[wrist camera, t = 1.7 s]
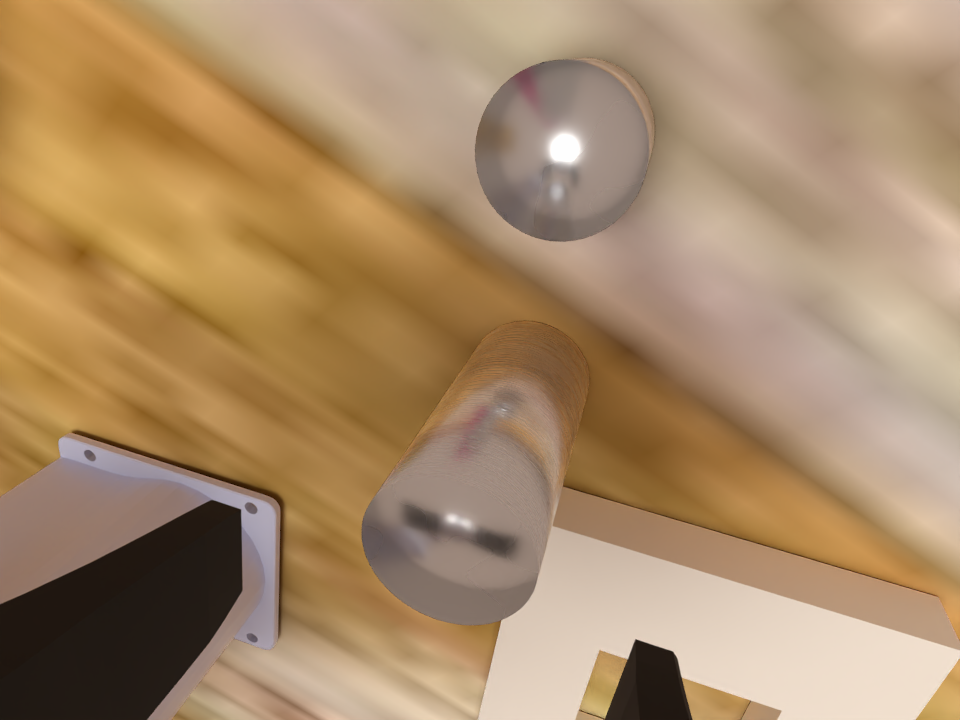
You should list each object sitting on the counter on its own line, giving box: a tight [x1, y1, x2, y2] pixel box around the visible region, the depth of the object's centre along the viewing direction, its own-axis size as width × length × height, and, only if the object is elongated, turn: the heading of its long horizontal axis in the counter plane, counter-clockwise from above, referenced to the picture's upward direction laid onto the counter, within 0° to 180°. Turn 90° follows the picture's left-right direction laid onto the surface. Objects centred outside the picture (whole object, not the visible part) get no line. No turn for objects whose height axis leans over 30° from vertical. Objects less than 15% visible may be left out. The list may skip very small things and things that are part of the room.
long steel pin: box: [362, 321, 590, 625], centre depth 16 cm, size 4×4×8 cm
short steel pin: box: [475, 58, 655, 241], centre depth 15 cm, size 4×4×4 cm
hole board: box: [478, 487, 960, 720], centre depth 23 cm, size 12×14×2 cm
